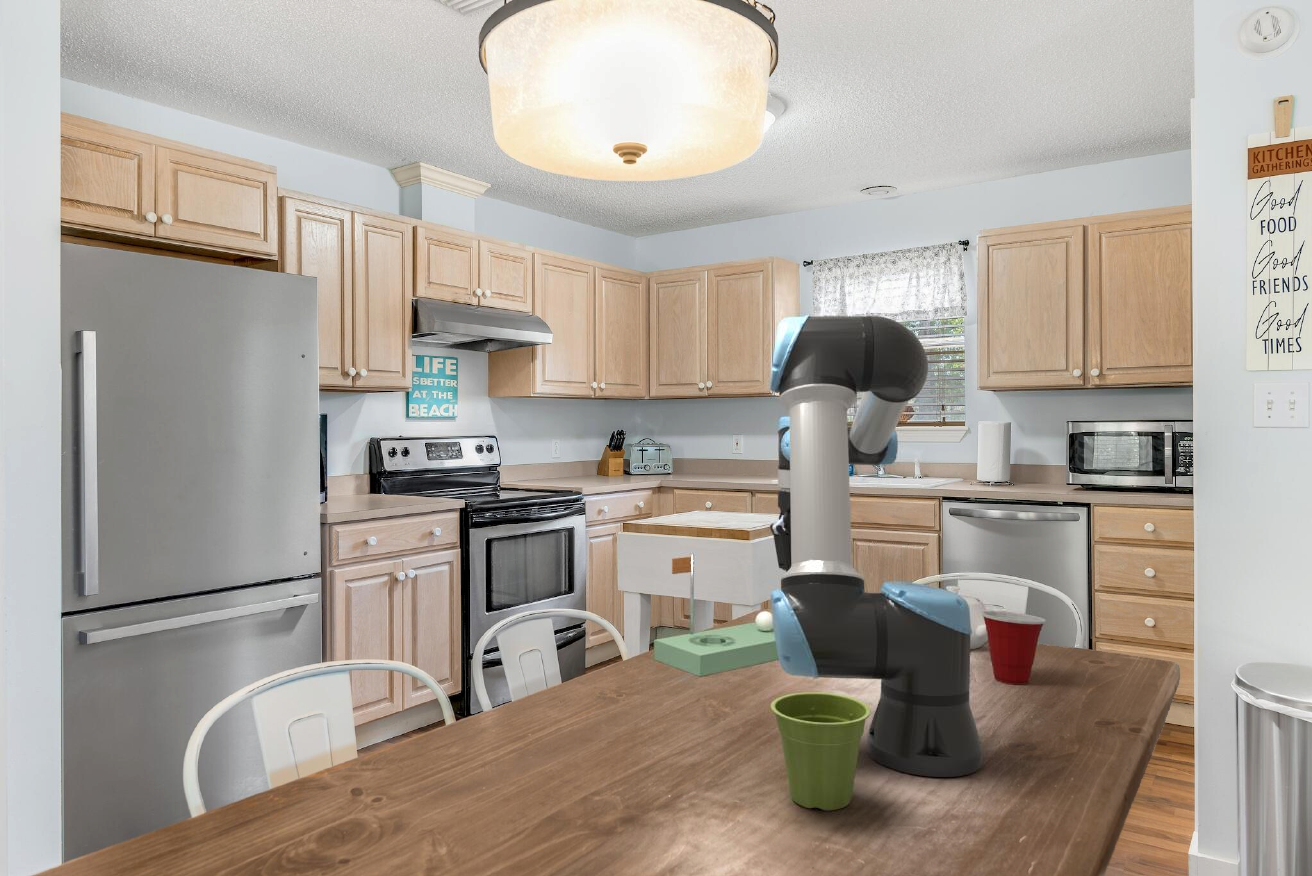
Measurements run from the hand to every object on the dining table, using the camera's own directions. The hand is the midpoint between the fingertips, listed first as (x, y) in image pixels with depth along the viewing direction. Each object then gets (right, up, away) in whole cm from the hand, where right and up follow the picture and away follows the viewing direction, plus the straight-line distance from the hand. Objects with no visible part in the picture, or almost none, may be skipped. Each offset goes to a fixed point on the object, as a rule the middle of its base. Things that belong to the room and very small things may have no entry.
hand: (794, 602), depth 179 cm
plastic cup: (+35, -10, -25) cm, 44 cm away
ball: (-7, -3, -5) cm, 9 cm away
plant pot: (-9, -10, -76) cm, 77 cm away
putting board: (-13, -9, -10) cm, 18 cm away
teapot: (+34, -9, 0) cm, 35 cm away
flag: (-24, -5, -10) cm, 26 cm away
